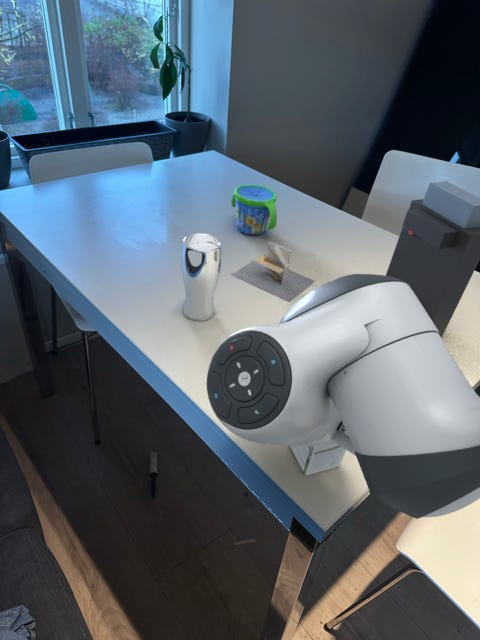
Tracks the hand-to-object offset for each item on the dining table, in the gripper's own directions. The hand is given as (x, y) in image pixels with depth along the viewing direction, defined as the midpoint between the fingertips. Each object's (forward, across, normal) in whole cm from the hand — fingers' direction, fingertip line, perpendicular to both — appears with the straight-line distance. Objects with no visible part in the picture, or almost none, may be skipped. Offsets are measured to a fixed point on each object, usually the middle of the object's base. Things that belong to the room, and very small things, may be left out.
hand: (327, 412), depth 58 cm
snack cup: (+40, +49, -28) cm, 70 cm away
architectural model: (+30, +31, -18) cm, 47 cm away
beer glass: (+15, +34, -3) cm, 37 cm away
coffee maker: (+32, +5, -20) cm, 38 cm away
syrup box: (+6, 0, +6) cm, 9 cm away
